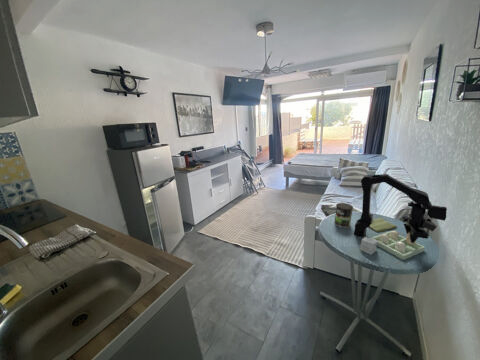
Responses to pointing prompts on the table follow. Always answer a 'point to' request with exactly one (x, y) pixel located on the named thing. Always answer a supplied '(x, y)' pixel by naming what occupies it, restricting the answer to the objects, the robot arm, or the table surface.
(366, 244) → the skincare box
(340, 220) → the coffee can
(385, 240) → the egg
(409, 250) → the egg tray
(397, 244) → the egg
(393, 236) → the egg
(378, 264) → the table surface
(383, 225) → the washcloth
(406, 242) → the brown egg
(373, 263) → the table surface
